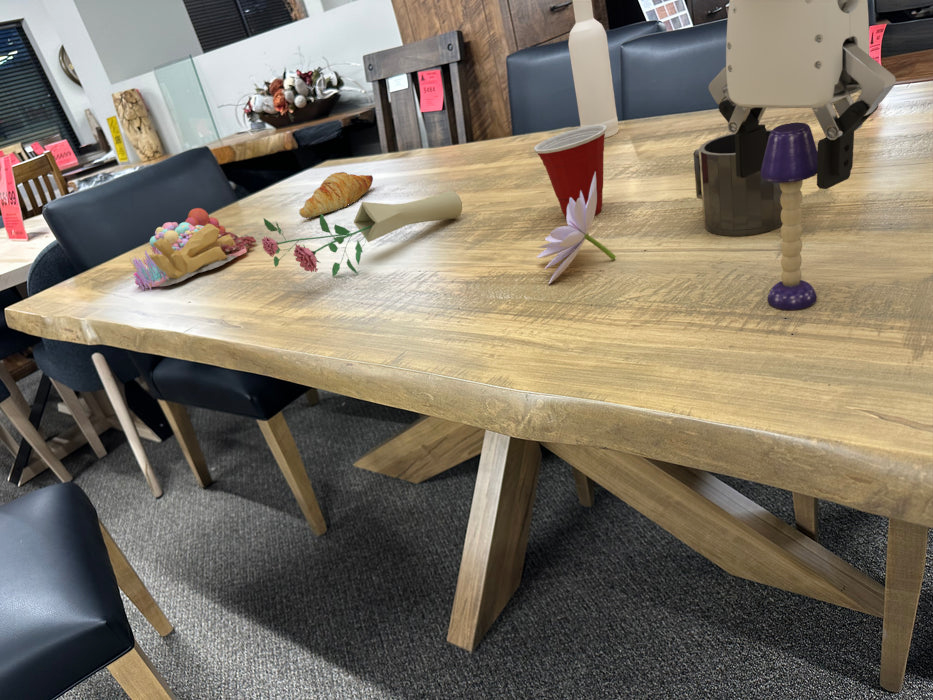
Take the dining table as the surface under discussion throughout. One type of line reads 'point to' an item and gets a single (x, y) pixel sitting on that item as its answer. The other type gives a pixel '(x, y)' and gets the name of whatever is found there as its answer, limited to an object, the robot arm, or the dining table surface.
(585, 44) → the bottle
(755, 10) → the robot arm
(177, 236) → the pastel sphere sculpture
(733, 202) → the mug
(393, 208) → the flower vase
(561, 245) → the water lily
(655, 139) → the dining table surface
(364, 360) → the dining table surface
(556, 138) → the plastic cup
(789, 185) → the toy lamp
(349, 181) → the croissant
